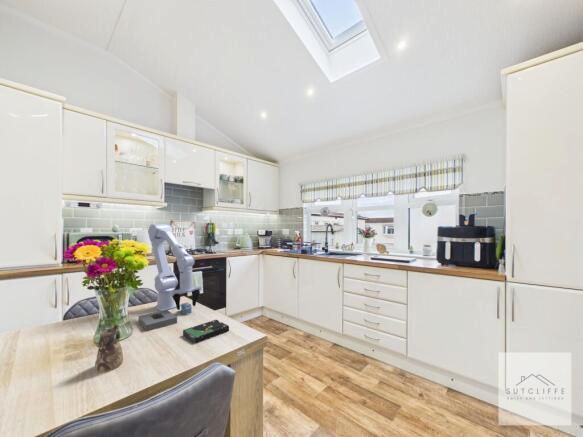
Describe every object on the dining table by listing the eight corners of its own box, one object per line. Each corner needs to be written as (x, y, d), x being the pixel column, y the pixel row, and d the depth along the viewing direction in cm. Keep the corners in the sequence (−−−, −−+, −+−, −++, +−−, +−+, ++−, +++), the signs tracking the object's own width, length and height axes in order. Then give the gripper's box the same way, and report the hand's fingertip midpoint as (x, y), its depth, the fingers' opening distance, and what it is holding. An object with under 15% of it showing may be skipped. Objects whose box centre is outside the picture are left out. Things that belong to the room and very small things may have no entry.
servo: (180, 311, 127) (180, 301, 127) (186, 309, 129) (186, 300, 129) (186, 315, 121) (186, 305, 121) (192, 313, 123) (192, 304, 123)
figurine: (90, 368, 77) (90, 329, 77) (115, 357, 83) (115, 321, 84) (102, 375, 74) (102, 334, 74) (127, 363, 80) (127, 325, 80)
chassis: (138, 321, 114) (138, 315, 114) (167, 314, 122) (167, 309, 122) (146, 331, 103) (146, 325, 104) (177, 323, 112) (177, 317, 112)
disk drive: (215, 325, 110) (182, 336, 99) (216, 319, 110) (182, 329, 99) (229, 332, 103) (194, 345, 92) (229, 325, 103) (194, 337, 92)
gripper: (173, 283, 117) (173, 313, 117) (203, 278, 127) (203, 305, 127) (168, 281, 123) (168, 309, 122) (197, 276, 133) (198, 302, 132)
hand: (186, 307), depth 125 cm, fingers open, 7 cm apart
